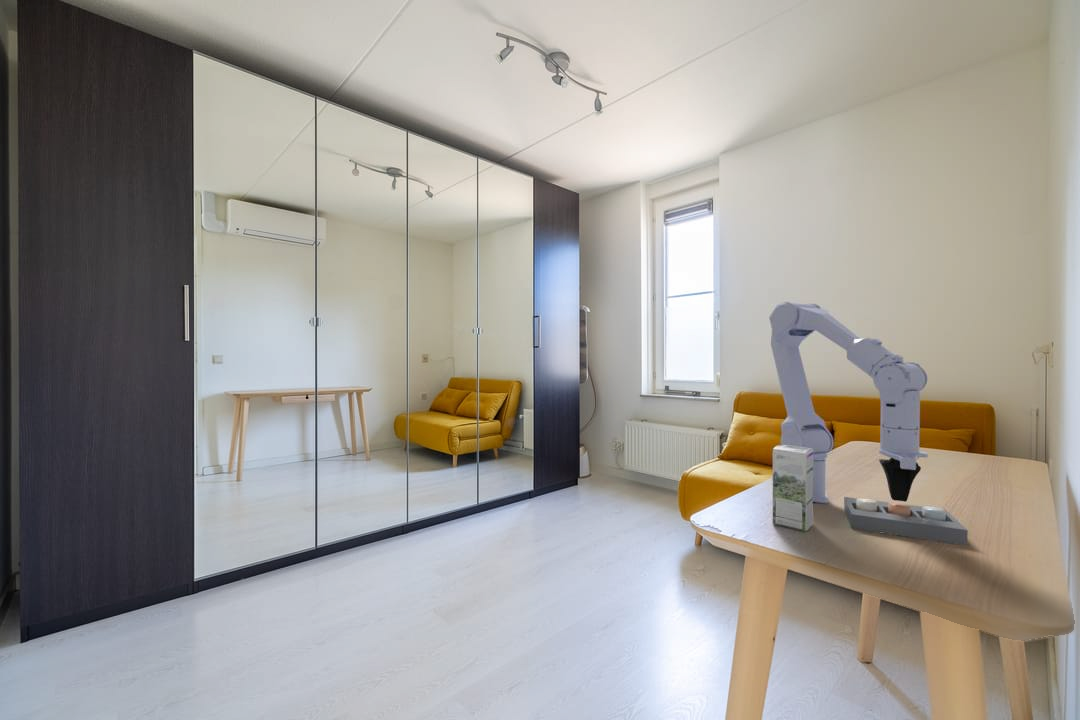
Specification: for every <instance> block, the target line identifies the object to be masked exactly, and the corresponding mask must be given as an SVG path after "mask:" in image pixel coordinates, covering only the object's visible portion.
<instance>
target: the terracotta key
mask: <svg viewBox="0 0 1080 720" xmlns="http://www.w3.org/2000/svg"><path fill="white" fill-rule="evenodd" d="M888 502H889V501H888ZM909 505H910V504H906V503H904V502H903V503H902V502H898V501H896V502H895V501H890V502H889V503H888V513H889V514H896V515H904V516H910V506H909Z"/></svg>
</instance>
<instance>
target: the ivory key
mask: <svg viewBox="0 0 1080 720" xmlns="http://www.w3.org/2000/svg"><path fill="white" fill-rule="evenodd" d="M876 501H877V500H873V499H869V498H863V497H862V498H857V499H856V509H858V510H866V511H874V512H877V502H876Z"/></svg>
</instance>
